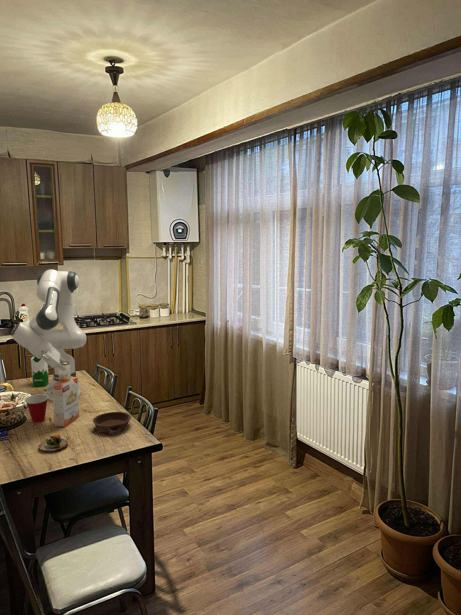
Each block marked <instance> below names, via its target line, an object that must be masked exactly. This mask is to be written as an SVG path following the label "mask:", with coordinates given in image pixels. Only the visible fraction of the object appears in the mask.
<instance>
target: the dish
mask: <svg viewBox="0 0 461 615" xmlns="http://www.w3.org/2000/svg"><path fill="white" fill-rule="evenodd" d="M131 417H132V416H131V414H129V413H128V412H125V411H109V412H105V413H101V414H98V415H96V416H94V418H93V419H92V422H93V424H94V427H95V428H96V430H97V431H99V432H100V433H103V434H111V435H118V434H119V433H120V432H122V431H124V430H125V429H127V428H128V426H129V423H130V420H132V418H131Z"/></svg>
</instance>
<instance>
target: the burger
mask: <svg viewBox="0 0 461 615" xmlns="http://www.w3.org/2000/svg"><path fill="white" fill-rule="evenodd" d="M68 447H69V442H68V440H67V439H65V438H62V437H61V435H60V434H59V433H57V432H56V433H53V434H50V435H49V438H46V439H45V440H43V442H41V443H39V445H38V449H39V450H42V451H45V452H54V451H57V450H59V451H60V452H63V451H64V450H65V449H66V448H68Z"/></svg>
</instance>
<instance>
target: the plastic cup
mask: <svg viewBox="0 0 461 615" xmlns="http://www.w3.org/2000/svg"><path fill="white" fill-rule="evenodd" d="M48 400H49V399H48V395H46V394H44V393H37V394H32V395H30V396H27V397H26V398H25V399H24V402H25V403H26V405H27V409H28V411H29V415H30V418H31V421H32V423H34V424H38V423H42V422H45V421H46V413H47V406H48V405H47V404H48Z"/></svg>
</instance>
